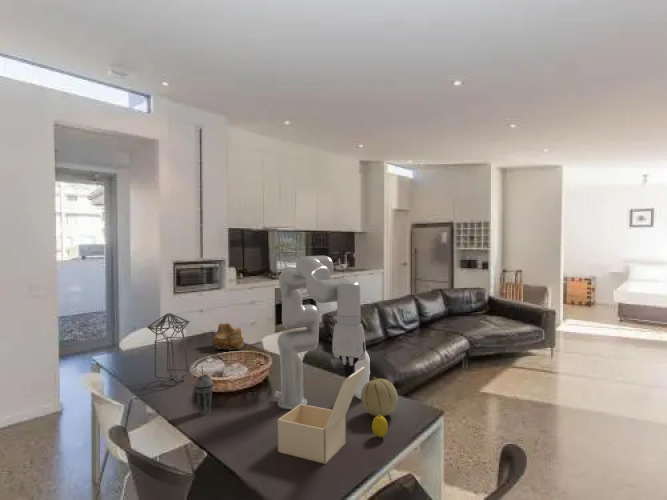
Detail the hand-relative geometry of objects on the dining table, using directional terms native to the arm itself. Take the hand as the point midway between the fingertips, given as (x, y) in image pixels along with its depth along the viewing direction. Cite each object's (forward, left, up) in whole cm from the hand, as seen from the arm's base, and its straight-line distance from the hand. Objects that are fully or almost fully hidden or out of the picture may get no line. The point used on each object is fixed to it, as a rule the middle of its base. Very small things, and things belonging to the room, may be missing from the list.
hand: (349, 376), depth 143 cm
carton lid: (-2, 0, -7) cm, 7 cm away
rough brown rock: (-131, +91, -27) cm, 162 cm away
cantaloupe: (-3, +35, -27) cm, 44 cm away
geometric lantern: (-111, +28, -27) cm, 118 cm away
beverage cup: (-69, +7, -27) cm, 75 cm away
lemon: (+4, +17, -27) cm, 32 cm away
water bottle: (-17, +50, -27) cm, 59 cm away
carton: (-14, 0, -27) cm, 30 cm away
